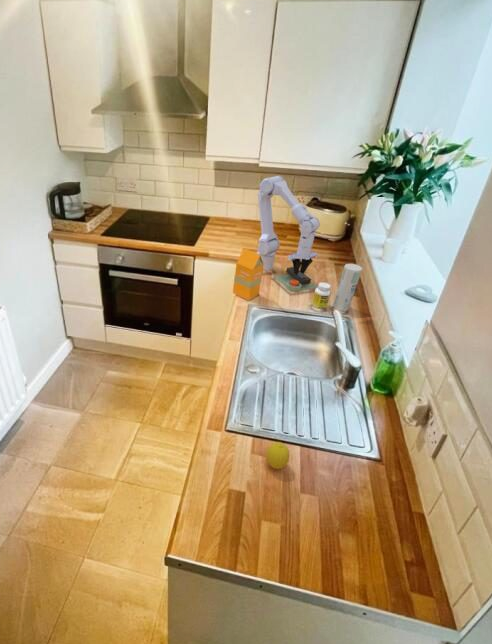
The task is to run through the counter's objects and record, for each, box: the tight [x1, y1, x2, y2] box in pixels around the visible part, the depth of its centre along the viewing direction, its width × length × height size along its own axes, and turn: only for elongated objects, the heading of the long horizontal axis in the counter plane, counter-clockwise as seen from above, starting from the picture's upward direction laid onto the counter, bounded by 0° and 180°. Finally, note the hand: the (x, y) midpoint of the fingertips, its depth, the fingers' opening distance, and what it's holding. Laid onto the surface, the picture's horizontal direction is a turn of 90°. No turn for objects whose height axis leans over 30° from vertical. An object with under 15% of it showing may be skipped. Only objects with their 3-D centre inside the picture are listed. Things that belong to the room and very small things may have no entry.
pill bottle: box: [311, 282, 332, 310], centre depth 165 cm, size 6×6×11 cm
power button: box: [290, 279, 299, 286], centre depth 178 cm, size 4×4×2 cm
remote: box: [285, 266, 312, 285], centre depth 184 cm, size 13×4×3 cm, turn 19°
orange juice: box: [232, 248, 264, 301], centre depth 171 cm, size 8×9×20 cm
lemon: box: [265, 441, 290, 470], centre depth 99 cm, size 6×6×8 cm
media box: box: [272, 273, 318, 293], centre depth 184 cm, size 16×14×4 cm
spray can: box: [332, 263, 363, 312], centre depth 162 cm, size 6×6×20 cm
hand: (298, 273), depth 183 cm, fingers closed on remote, 3 cm apart
